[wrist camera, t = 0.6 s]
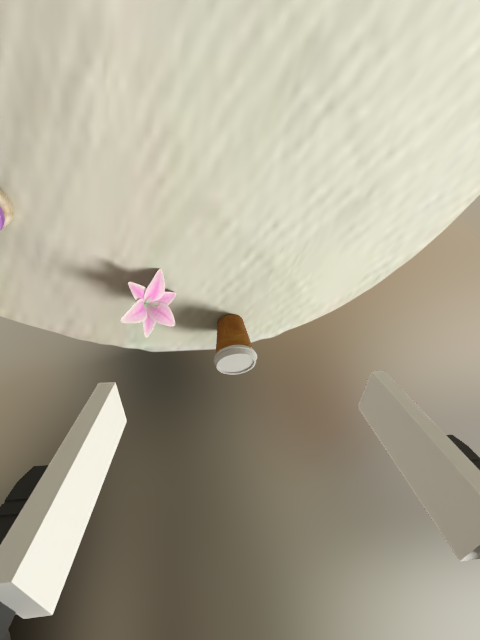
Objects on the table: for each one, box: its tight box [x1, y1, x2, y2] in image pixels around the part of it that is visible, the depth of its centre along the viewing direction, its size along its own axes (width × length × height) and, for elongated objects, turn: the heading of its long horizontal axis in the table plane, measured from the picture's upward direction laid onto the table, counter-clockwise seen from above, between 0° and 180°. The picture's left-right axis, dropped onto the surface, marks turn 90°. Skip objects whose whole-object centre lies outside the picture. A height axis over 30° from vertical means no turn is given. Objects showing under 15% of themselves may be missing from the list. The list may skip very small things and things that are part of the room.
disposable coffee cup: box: [214, 314, 257, 374], centre depth 55 cm, size 10×10×12 cm
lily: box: [121, 269, 176, 338], centre depth 45 cm, size 12×12×10 cm
